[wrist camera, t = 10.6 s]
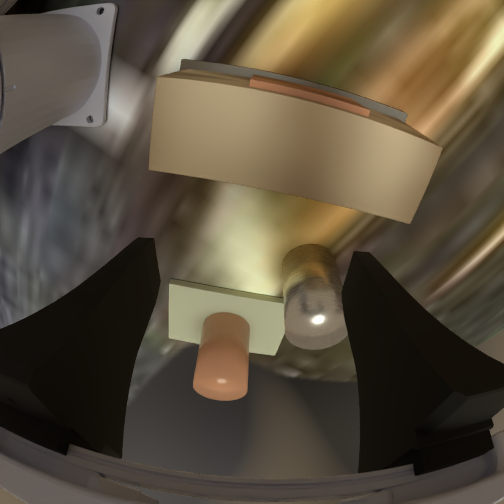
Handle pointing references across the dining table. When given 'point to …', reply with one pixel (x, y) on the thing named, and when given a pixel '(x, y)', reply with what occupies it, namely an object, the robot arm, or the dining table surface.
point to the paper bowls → (6, 5)
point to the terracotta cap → (223, 357)
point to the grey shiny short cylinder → (312, 298)
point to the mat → (225, 300)
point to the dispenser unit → (289, 138)
